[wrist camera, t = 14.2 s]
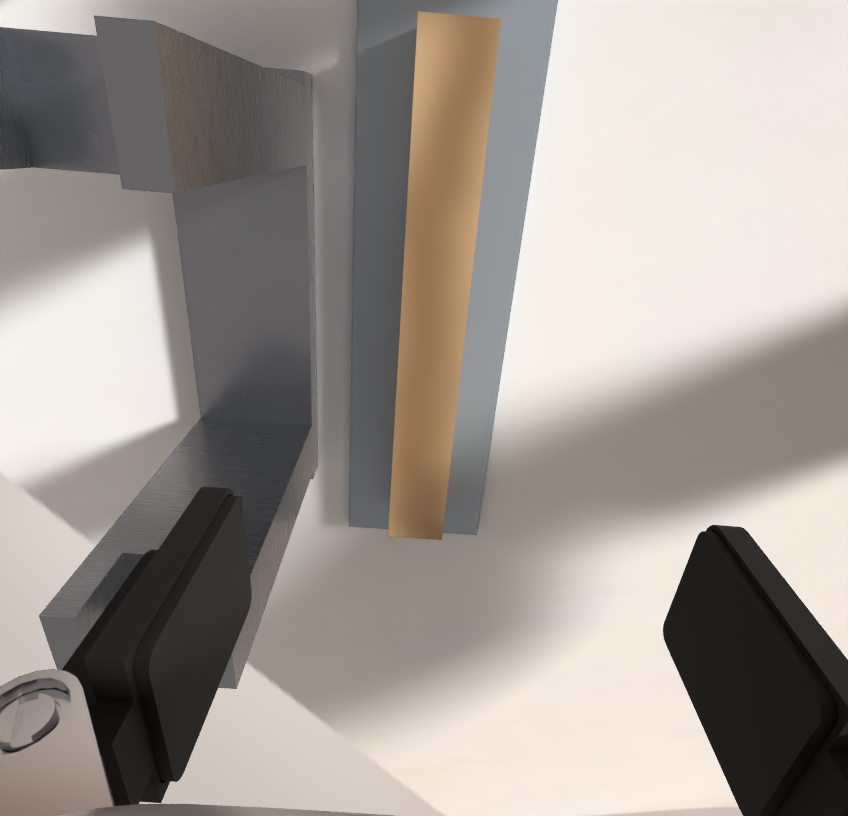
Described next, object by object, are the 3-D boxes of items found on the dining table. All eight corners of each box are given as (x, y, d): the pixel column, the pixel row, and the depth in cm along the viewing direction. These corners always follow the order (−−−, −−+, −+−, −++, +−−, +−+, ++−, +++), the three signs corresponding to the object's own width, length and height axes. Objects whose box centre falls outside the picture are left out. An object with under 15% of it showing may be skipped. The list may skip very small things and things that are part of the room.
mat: (558, -20, 22) (561, -24, 21) (475, 528, 34) (476, 534, 34) (359, -38, 21) (358, -43, 21) (350, 520, 34) (349, 526, 33)
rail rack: (311, 74, 23) (149, -13, 10) (317, 465, 32) (237, 697, 19) (171, 62, 23) (-189, -43, 10) (217, 457, 32) (63, 688, 19)
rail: (492, 33, 22) (501, 18, 19) (440, 506, 33) (441, 539, 30) (419, 27, 22) (418, 11, 19) (391, 503, 33) (388, 536, 30)
